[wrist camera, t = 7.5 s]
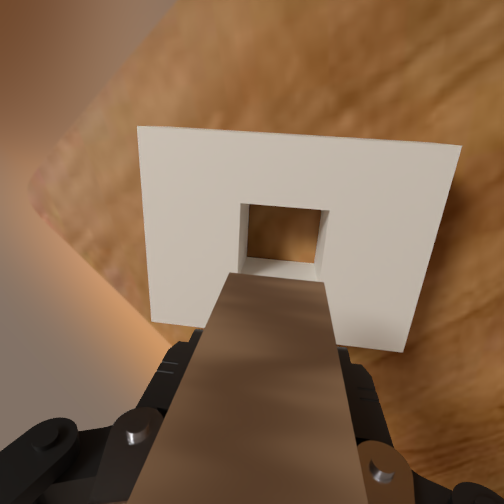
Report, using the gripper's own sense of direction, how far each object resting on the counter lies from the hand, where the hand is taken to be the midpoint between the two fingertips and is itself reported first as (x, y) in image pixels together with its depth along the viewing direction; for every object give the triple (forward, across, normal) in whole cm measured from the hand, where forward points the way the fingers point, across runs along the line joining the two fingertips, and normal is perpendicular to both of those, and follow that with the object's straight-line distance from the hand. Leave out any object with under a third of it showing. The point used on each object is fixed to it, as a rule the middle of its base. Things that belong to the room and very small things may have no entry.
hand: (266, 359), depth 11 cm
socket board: (+17, 0, 0) cm, 17 cm away
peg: (+3, 0, 0) cm, 3 cm away
